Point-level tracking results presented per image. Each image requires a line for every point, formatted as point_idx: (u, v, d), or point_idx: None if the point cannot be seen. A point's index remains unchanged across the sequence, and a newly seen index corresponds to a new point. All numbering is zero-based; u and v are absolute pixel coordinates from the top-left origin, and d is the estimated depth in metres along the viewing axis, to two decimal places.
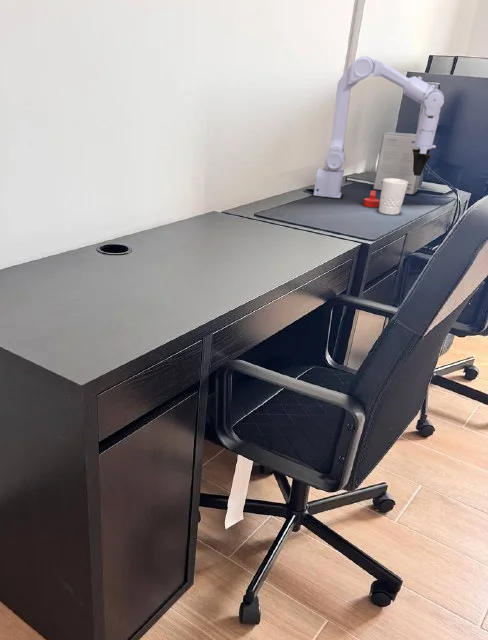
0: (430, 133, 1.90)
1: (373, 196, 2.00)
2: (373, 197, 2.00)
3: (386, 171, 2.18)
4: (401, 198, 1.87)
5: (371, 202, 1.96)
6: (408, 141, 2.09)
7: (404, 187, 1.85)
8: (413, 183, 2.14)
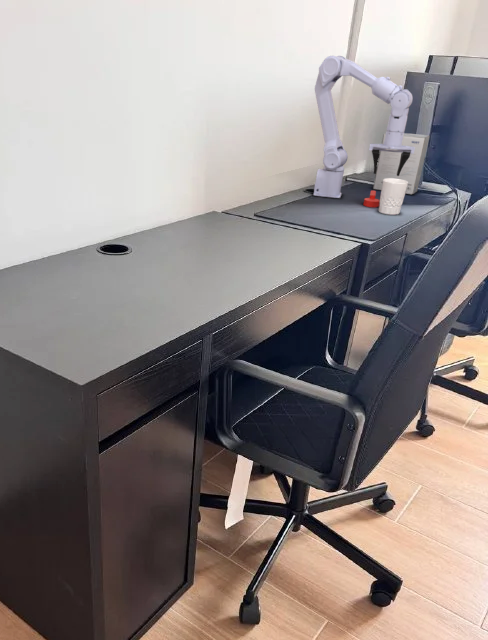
0: (387, 132, 1.91)
1: (373, 196, 2.00)
2: (373, 197, 2.00)
3: (386, 171, 2.18)
4: (401, 198, 1.87)
5: (371, 202, 1.96)
6: (408, 141, 2.09)
7: (404, 187, 1.85)
8: (413, 183, 2.14)
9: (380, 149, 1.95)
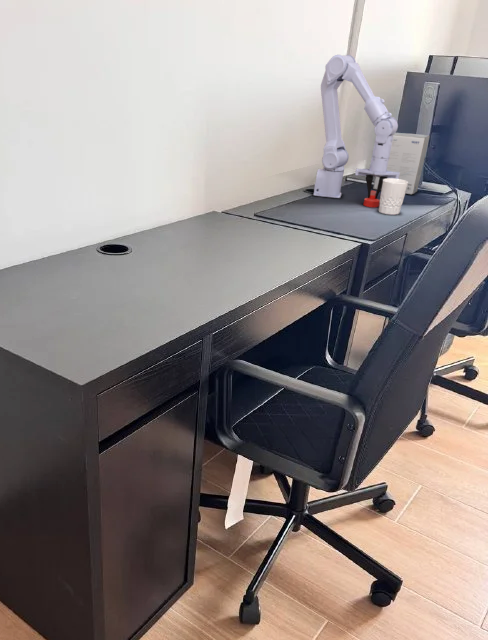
0: (372, 158, 1.95)
1: (373, 196, 2.00)
2: (373, 197, 2.00)
3: None
4: (401, 198, 1.87)
5: (371, 202, 1.96)
6: (408, 141, 2.09)
7: (404, 187, 1.85)
8: (413, 183, 2.14)
9: (366, 174, 1.99)
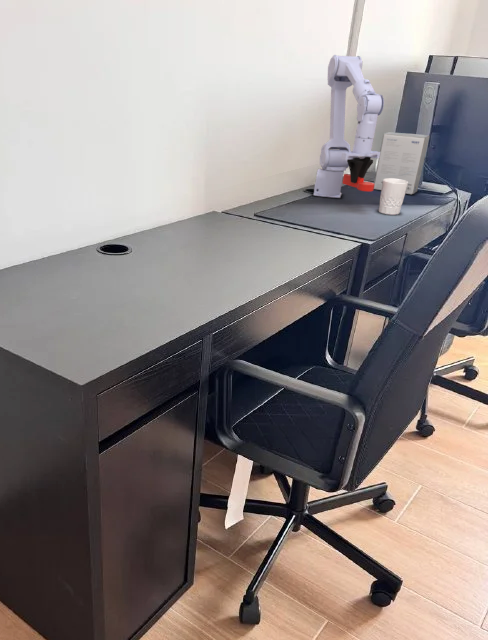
0: (360, 140, 1.81)
1: (362, 179, 1.88)
2: (362, 180, 1.88)
3: (386, 171, 2.18)
4: (401, 198, 1.87)
5: (371, 186, 1.85)
6: (408, 141, 2.09)
7: (404, 187, 1.85)
8: (413, 183, 2.14)
9: (353, 157, 1.84)
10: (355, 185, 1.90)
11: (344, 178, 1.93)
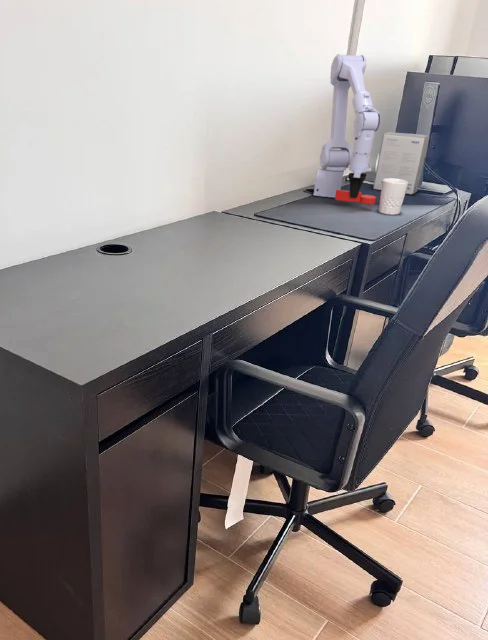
0: (364, 156, 1.83)
1: (361, 193, 1.92)
2: (361, 194, 1.92)
3: (386, 171, 2.18)
4: (401, 198, 1.87)
5: (375, 198, 1.91)
6: (408, 141, 2.09)
7: (404, 187, 1.85)
8: (413, 183, 2.14)
9: None
10: (355, 200, 1.92)
11: (338, 194, 1.93)
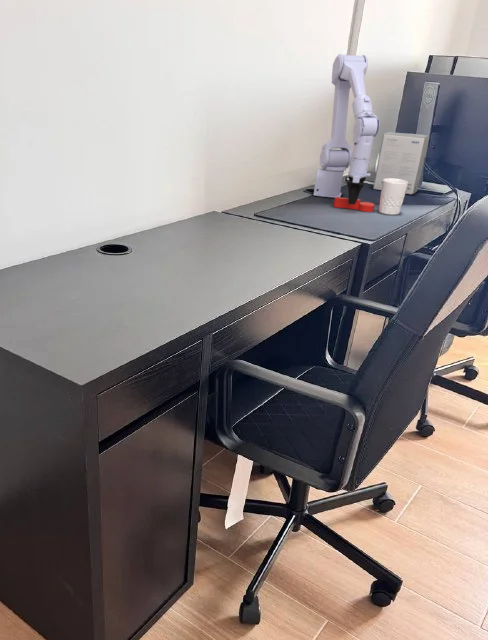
0: (363, 161, 1.84)
1: None
2: None
3: (386, 171, 2.18)
4: (401, 198, 1.87)
5: (374, 205, 1.92)
6: (408, 141, 2.09)
7: (404, 187, 1.85)
8: (413, 183, 2.14)
9: None
10: (354, 207, 1.93)
11: (337, 202, 1.94)
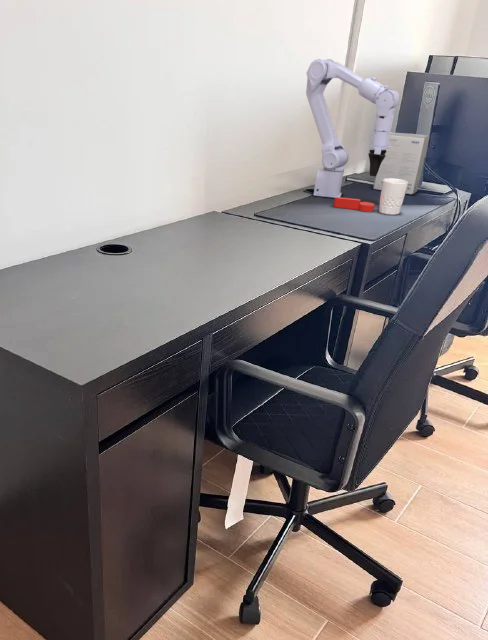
0: (385, 133, 1.89)
1: None
2: None
3: (386, 171, 2.18)
4: (401, 198, 1.87)
5: (374, 205, 1.92)
6: (408, 141, 2.09)
7: (404, 187, 1.85)
8: (413, 183, 2.14)
9: None
10: (354, 207, 1.93)
11: (337, 202, 1.94)
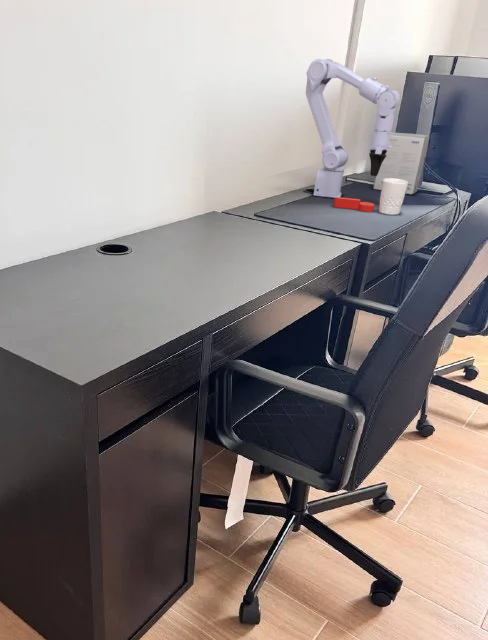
0: (385, 133, 1.90)
1: None
2: None
3: (386, 171, 2.18)
4: (401, 198, 1.87)
5: (374, 205, 1.92)
6: (408, 141, 2.09)
7: (404, 187, 1.85)
8: (413, 183, 2.14)
9: None
10: (354, 207, 1.93)
11: (337, 202, 1.94)
